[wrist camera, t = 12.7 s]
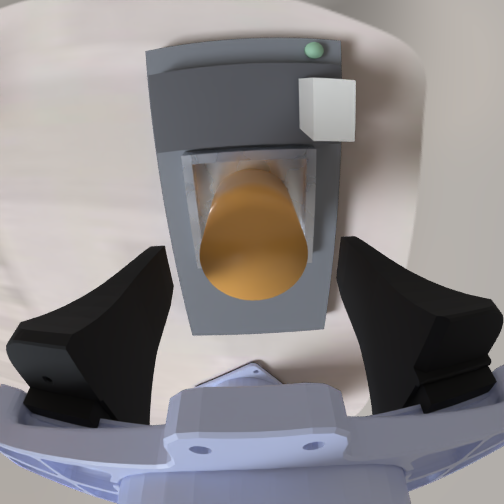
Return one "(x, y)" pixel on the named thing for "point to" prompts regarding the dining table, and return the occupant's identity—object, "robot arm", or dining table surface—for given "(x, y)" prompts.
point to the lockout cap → (253, 237)
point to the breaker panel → (243, 135)
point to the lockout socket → (259, 157)
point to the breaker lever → (327, 108)
